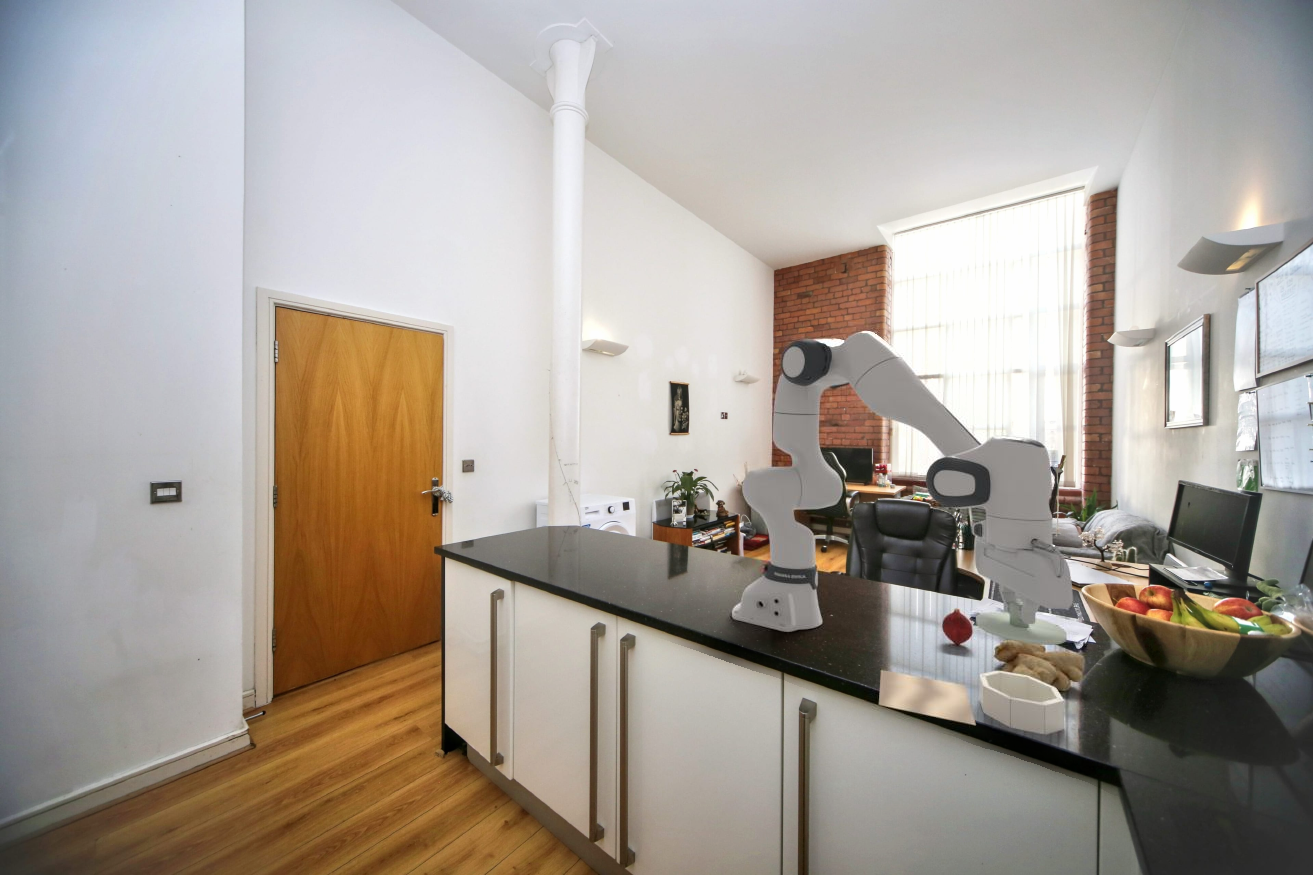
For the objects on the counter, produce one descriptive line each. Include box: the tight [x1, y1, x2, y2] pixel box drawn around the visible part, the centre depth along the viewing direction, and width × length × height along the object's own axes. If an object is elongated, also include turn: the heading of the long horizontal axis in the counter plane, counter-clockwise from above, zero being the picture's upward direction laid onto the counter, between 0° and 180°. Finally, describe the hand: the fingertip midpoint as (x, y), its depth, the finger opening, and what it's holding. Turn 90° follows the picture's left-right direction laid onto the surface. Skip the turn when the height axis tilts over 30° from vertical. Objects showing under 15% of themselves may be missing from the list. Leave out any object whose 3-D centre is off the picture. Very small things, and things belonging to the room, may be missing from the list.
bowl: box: [979, 670, 1065, 735], centre depth 81 cm, size 11×11×5 cm
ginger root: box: [993, 640, 1086, 692], centre depth 94 cm, size 16×16×8 cm
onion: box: [941, 607, 973, 646], centre depth 110 cm, size 6×6×8 cm
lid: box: [975, 601, 1068, 646], centre depth 81 cm, size 12×12×4 cm
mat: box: [878, 669, 977, 726], centre depth 87 cm, size 14×14×1 cm
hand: (1019, 617), depth 81 cm, fingers closed on lid, 3 cm apart
